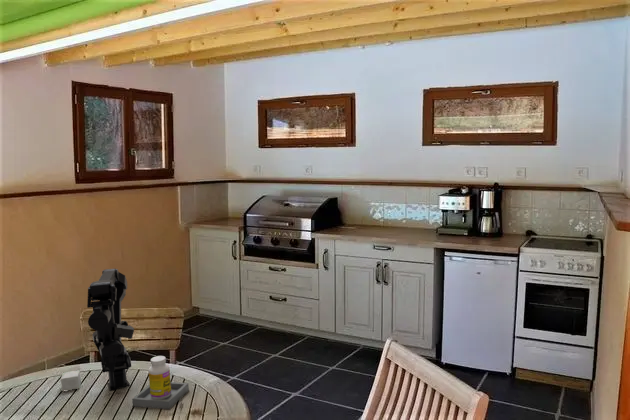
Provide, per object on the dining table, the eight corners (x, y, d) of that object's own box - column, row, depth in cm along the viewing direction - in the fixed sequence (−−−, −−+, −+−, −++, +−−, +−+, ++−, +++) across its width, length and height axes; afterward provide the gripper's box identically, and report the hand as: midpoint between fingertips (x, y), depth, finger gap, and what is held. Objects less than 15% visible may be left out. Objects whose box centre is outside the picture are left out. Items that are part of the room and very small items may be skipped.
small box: (64, 385, 186) (62, 372, 186) (81, 382, 188) (80, 369, 187) (61, 392, 181) (60, 378, 180) (79, 389, 182) (78, 375, 182)
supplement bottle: (165, 401, 169) (162, 363, 167) (146, 400, 170) (143, 362, 169) (175, 391, 175) (172, 354, 174) (157, 390, 177) (153, 354, 175)
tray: (132, 406, 168) (132, 398, 168) (154, 387, 180) (153, 380, 180) (169, 409, 165) (168, 401, 164) (188, 390, 177) (188, 383, 177)
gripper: (137, 322, 164) (141, 370, 166) (124, 308, 180) (129, 352, 182) (99, 330, 159) (104, 379, 160) (90, 315, 175) (94, 360, 176)
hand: (109, 366), depth 170 cm, fingers open, 9 cm apart
